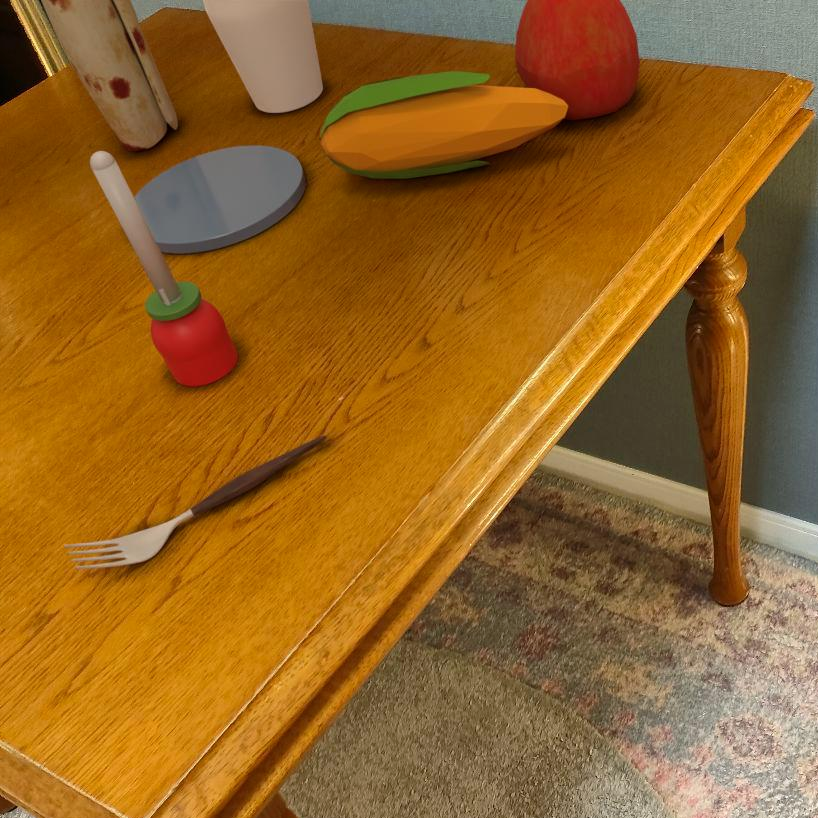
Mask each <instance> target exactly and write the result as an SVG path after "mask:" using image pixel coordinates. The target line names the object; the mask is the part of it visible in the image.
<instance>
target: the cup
mask: <svg viewBox="0 0 818 818" xmlns="http://www.w3.org/2000/svg"><path fill="white" fill-rule="evenodd" d="M202 2H203V7H204V10H205V13H206V15H207V17H208V19H209V21H210V23H211V24H212V27H213V28H214V30H215V32H216V34H217V36H218V38H219V39H220V42H221V44H222V45H223V47H224V49H225V51H226V53H227V55H228V57H229V58H230V61H231V63H232V64H233V66H234V68H235V70H236V72H237V74H238V76H239V77H240V79H241V82H242V83H243V85H244V87H245V89H246V91H247V93H248V94H249V97H250V98H251V100H252V102H253V103H254V105H255V107H256V109H257V110H259V111H262V112H264V113H268V114H269V113H270V114H284V113H289V112H293V111H296V110H300V109H302V108H304V107H306V106H308V105H310V104H312V103H313V102H314V101H316V100H317V99H318V98H319V97H320V96H321V94H322V92H323V90H324V87H323V86H324V85H323V80H322V74H321V68H320V62H319V55H318V50H317V45H316V40H315V34H314V28H313V22H312V21H313V20H312V16H311V11H310V5H309V0H202Z"/></svg>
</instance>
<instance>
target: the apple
mask: <svg viewBox="0 0 818 818" xmlns="http://www.w3.org/2000/svg"><path fill="white" fill-rule="evenodd" d="M630 18H631V17H630V15H629V14H628V11H627V9H626V7H625V5H624V4H623V3H622V1H621V0H527V1H526V2H525V5H524V7H523V10H522V12H521V15H520V18H519V21H518V26H517V31H516V33H515V47H514V48H515V49H514V60H515V66H516V72H517V74H518V76H519V77H520V79H521V81H522V82H523V84H524V86H525V88H536V89H539V90H541V91H544V92H547V93H550V94H552V95H554V96H556V97H558V98H560V99H562V100H564V101H565V103H566V104H567V105H568V109H567V112H566V115H565V117H564V118H563V119H562V120H569V121H580V120H585V119H586V120H587V119H591V118H593V119H594V118H597V117H601V116H605V115H609V114H613V113H616V112H617V111H619V110H620V109H622V108H623V107H624V106H625V105H626V104H628V103H629V101H630V100H631V98H632V96H633V94H634V92H635V91H636V89H637V87H638V81H639V73H640V63H641V62H640V53H639V45H638V44H639V43H638V36H637V33H636V30H635V28H634V25H633V23H632V21H631V19H630Z"/></svg>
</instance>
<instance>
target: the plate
mask: <svg viewBox="0 0 818 818" xmlns="http://www.w3.org/2000/svg"><path fill="white" fill-rule="evenodd" d="M306 186H307V178H306V175H305V172H304V169H303V166H302V164H301V162H300V161H299V159H298V158H297V157H296V156H295V155H294V154H293V153H291V152H289V151H287V150H285V149H283V148H279V147H274V146H268V145H258V144H257V145H255V144H253V145H241V146H240V145H238V146H231V147H226V148H221V149H216V150H213V151H212V150H211V151H209V152H206V153H202V154H199V155H196V156H194V157H191V158H188V159H186V160H184V161H181V162H178V163H177V164H175V165H173V166H171V167H169V168H167V169H166V170H164V171H163V172H160V173H159V174H158V175H156V176H155V177H154V178H152V179H151V180H150V181H148V182H147V183H146V184H145V185H144V186H142V188H141V189H140V190H138V192H137V193H136V194H135V195H134V196H133V197H134V199H135V201H136V203H137V205H138V207H139V209H140V211H141V213H142V215H143V217H144V219H145V221H146V223H147V225H148V227H149V229H150V231H151V233H152V235H153V237H154V239H155V241H156V243H157V245H158V247H159V249H160V251H161V253H165V254H174V255H175V254H177V255H178V254H179V255H181V254H182V255H183V254H194V253H195V254H197V253H203V252H209V251H213V250H218V249H222V248H226V247H228V246H232V245H235V244H237V243H240V242H243V241H246V240H247V239H250V238H252V237H254V236H257V235H259V234H260V233H262V232H264V231H266V230H267V229H269V228H271V227H273V226H274V225H275V224H278V223H279V222H280V221H281V220H283V218H285V217H286V216H287V215H288V214H289V213H290V212H292V210H293V209H295V207H296V206H297V205H298V203H299V202H300V200H301V199H302V197H303V195H304V194H305V193H304V192H305V191H306Z"/></svg>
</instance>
